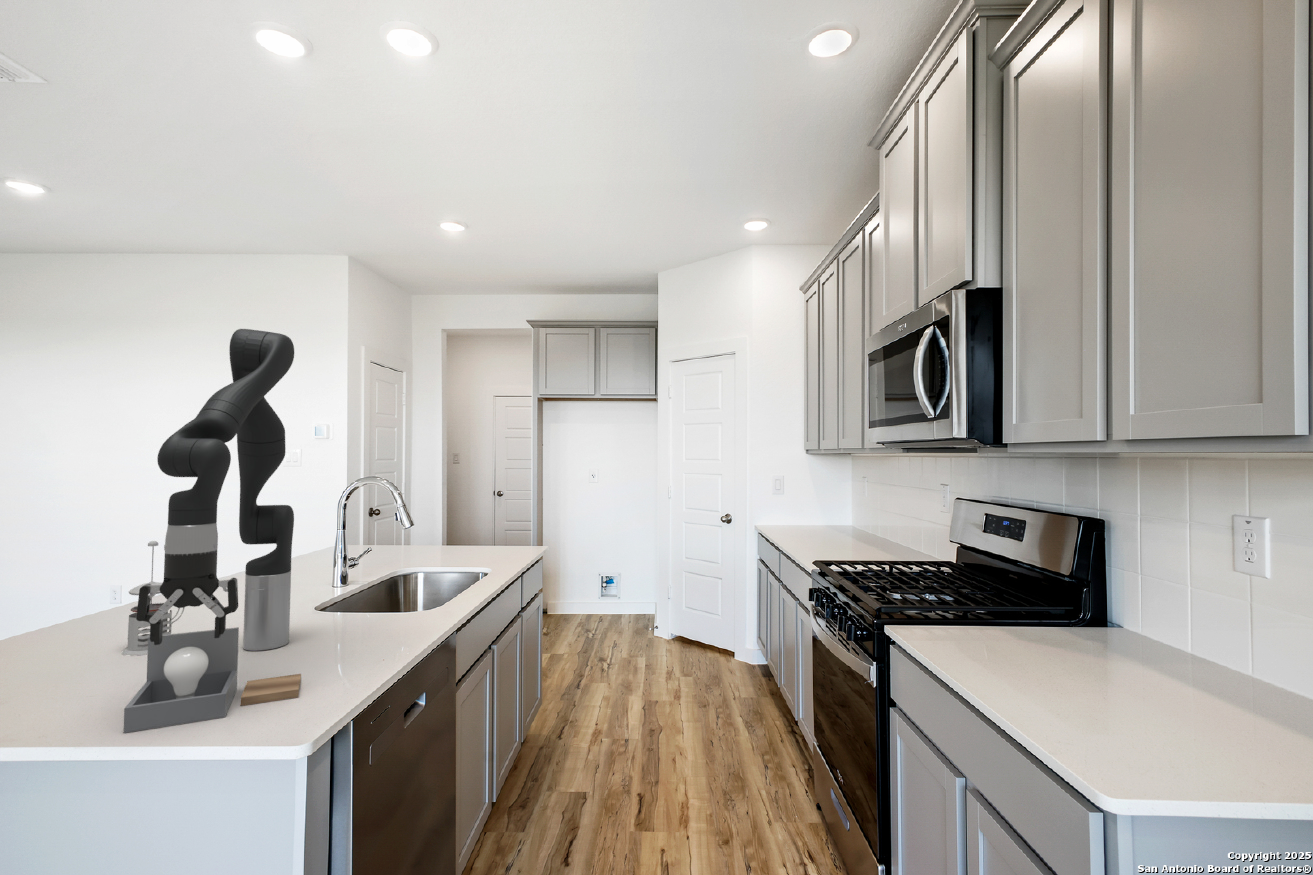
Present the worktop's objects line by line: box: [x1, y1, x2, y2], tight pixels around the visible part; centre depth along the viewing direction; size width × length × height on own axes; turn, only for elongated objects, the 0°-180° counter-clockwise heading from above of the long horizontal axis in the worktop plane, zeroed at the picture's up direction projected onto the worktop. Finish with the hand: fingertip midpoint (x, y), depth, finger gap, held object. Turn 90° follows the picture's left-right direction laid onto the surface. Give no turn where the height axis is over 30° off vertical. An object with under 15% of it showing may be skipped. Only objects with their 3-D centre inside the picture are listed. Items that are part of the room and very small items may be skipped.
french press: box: [121, 540, 186, 656], centre depth 141 cm, size 10×12×25 cm
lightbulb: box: [164, 647, 209, 699], centre depth 107 cm, size 6×6×11 cm
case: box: [122, 627, 240, 734], centre depth 107 cm, size 14×14×12 cm
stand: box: [239, 673, 302, 707], centre depth 115 cm, size 9×9×2 cm
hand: (188, 640), depth 108 cm, fingers open, 8 cm apart
